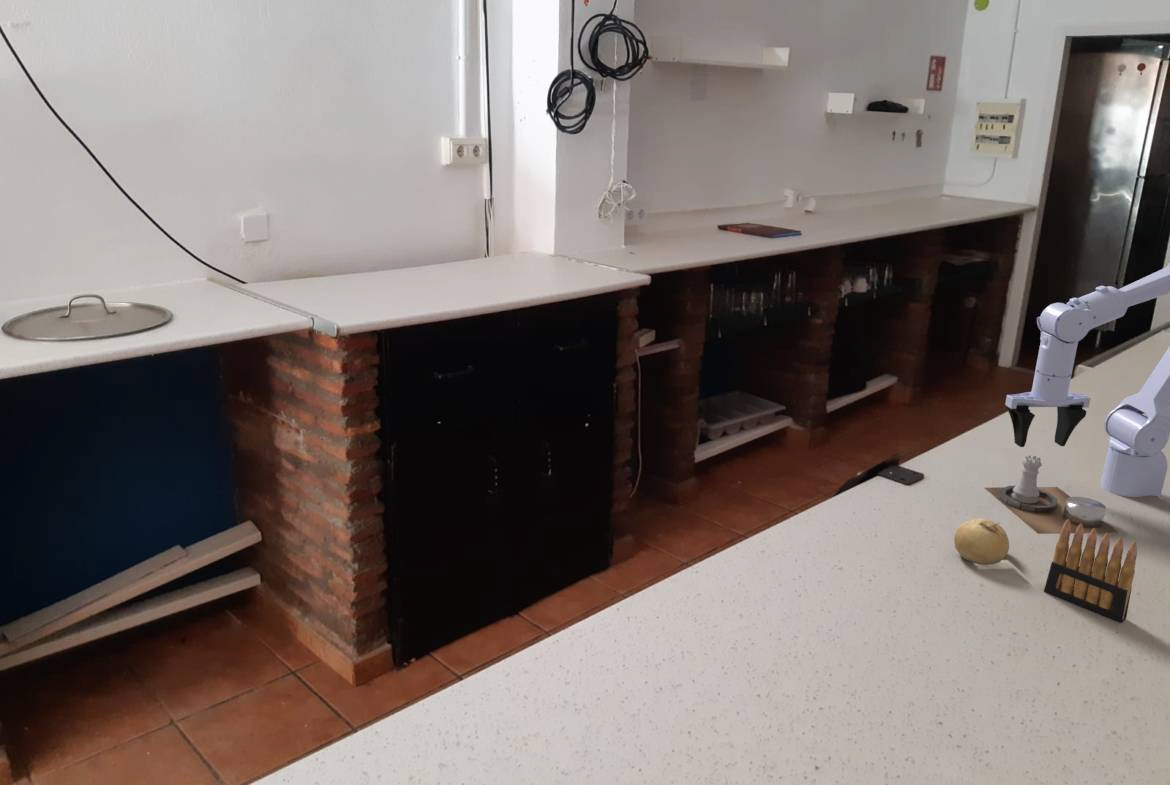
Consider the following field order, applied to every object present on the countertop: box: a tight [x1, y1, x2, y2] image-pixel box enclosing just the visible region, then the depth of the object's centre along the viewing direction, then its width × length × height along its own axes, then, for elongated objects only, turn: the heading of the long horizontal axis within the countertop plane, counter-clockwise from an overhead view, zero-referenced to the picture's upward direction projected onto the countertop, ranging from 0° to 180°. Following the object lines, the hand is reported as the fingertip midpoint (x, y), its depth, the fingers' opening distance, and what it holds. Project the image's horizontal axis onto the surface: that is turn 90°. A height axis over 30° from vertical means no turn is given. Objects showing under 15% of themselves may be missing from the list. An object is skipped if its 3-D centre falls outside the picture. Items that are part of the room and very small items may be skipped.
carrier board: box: [984, 486, 1119, 535], centre depth 160 cm, size 14×18×1 cm
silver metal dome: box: [1063, 496, 1107, 528], centre depth 155 cm, size 6×6×3 cm
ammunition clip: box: [1043, 519, 1138, 624], centre depth 130 cm, size 11×2×12 cm, turn 41°
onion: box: [953, 517, 1010, 566], centre depth 143 cm, size 8×8×7 cm
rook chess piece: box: [1012, 454, 1043, 504], centre depth 162 cm, size 4×4×8 cm
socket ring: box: [1000, 485, 1057, 513], centre depth 162 cm, size 9×9×1 cm
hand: (1039, 444), depth 165 cm, fingers open, 7 cm apart
